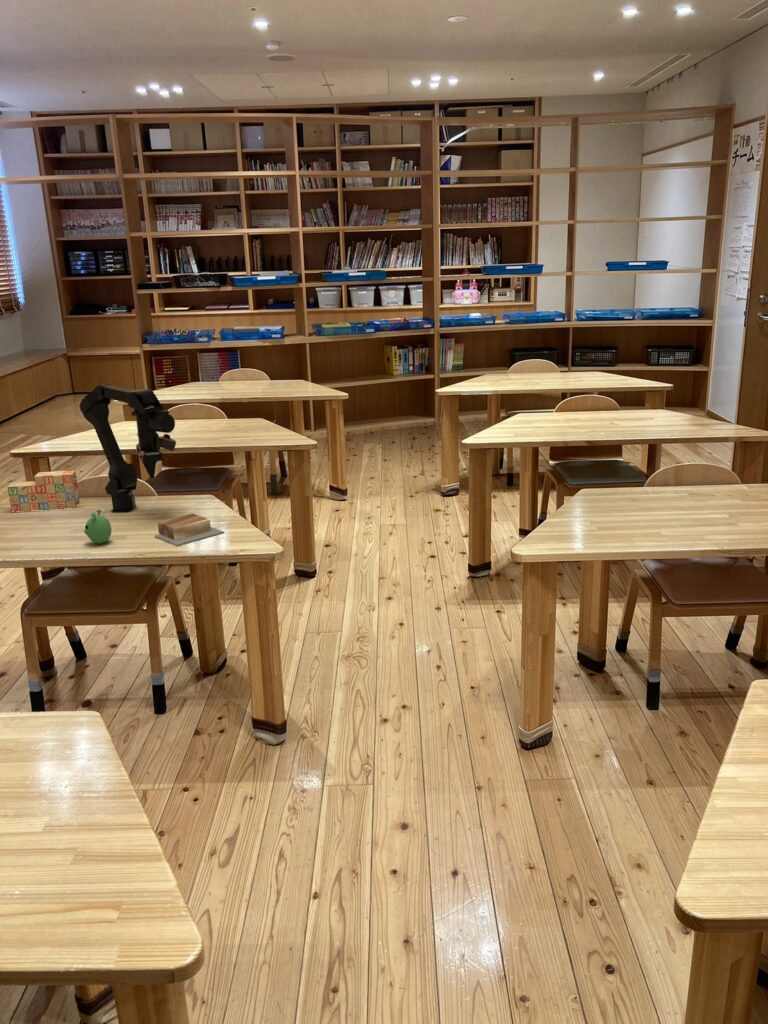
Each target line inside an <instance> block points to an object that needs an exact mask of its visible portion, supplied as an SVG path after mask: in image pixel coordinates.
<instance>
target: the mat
mask: <svg viewBox="0 0 768 1024" xmlns="http://www.w3.org/2000/svg"><path fill="white" fill-rule="evenodd" d="M222 533H223V534H225V531H224V530H220V529H219V528H216V527H214V526H213V527H212V526H211V531H207V532H204V533H200V534H197V535H193V536H189V537H186V538H182V539H178V540H174V539H172V538H169V537H167V536H164V535H162V534H159V533H158V534H156V535H154V538H156V539H158V540H160V539H161V540H160V541H163V542H165V541H166V542H165V543H168V544H170V543H171V544H170V545H172V544H174V545H173V546H175V545H176V546H175V547H180V546H183V545H182V544H184V545H187V544H191V543H193V541H195V542H197V541H201V539H202V540H205V539H208V537H209V538H212V537H215V535H216V536H219V535H223V534H222ZM218 534H219V535H218ZM190 542H191V543H190ZM186 543H187V544H186ZM179 545H180V546H179Z"/></svg>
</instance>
